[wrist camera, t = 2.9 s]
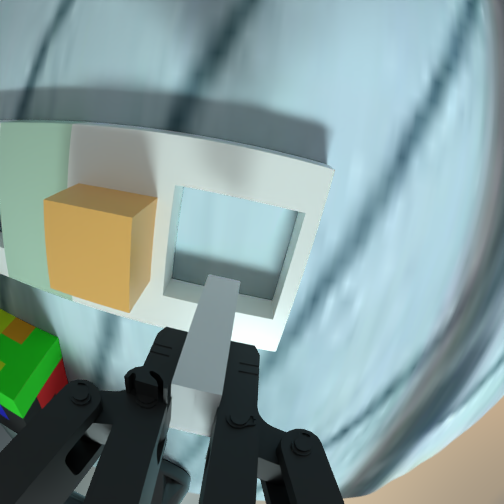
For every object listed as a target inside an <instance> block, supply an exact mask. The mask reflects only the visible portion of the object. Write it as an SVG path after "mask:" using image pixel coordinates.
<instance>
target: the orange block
mask: <svg viewBox="0 0 504 504" xmlns="http://www.w3.org/2000/svg"><path fill="white" fill-rule="evenodd" d="M157 199H158V198H157V197H152V196H147V195H141V194H136V193H131V192H125V191H120V190H114V189H109V188H103V187H97V186H92V185H86V184H80V183H78V184H76V185H74V186H71V187H69V188H67V189H65V190H62V191H60V192H58V193H56V194H54V195H52V196H50V197H48V198H45V199H43V203H44V230H45V245H46V256H47V265H48V274H49V281H50V288H52V289H54V290H57V291H60V292H63V293H66V294H69V295H72V296H75V297H78V298H81V299H84V300H87V301H90V302H93V303H97V304H100V305H103V306H106V307H110V308H113V309H117V310H120V311H123V312H127V313H130V312H131V310H132V308H133V307H134V305H135V304H136V302H137V300H138V299H139V297H140V296H141V294H142V293H143V291H144V289H145V288H146V286H147V285H148V283H149V282H150V277H151V262H152V249H153V237H154V227H155V217H156V208H157Z"/></svg>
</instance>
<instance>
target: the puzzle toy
mask: <svg viewBox="0 0 504 504" xmlns="http://www.w3.org/2000/svg"><path fill="white" fill-rule="evenodd" d="M67 384H68V381H67V376H66V372H65V368H64V364H63V359H62V354H61V349H60V344H59V339H58V337H56V336H54V335H52V334H49V333H47V332H45V331H43V330H41V329H39V328H37V327H35V326H33V325H31V324H29V323H27V322H25V321H23V320H21V319H19V318H17V317H15V316H13V315H11V314H9V313H7V312H6V311H4V310H2V309H0V423H2V424H3V425H5V426H6V427H8V428H9V429H11V430H13V431H14V432H16V433H17V434H18V433H19V432H20V431H21V430H22V429H23V428H24V427H25V426H26V425H27V424H28V423H29V422H30V421H31V420H32V419H33V418H34V417H35V416H36V415H37V414H38V413H39V412H40V410H41V409H42V408H43V407H44V406H45V405H46V404H47V403H48V402H49V401H50V400H51V399H52V398H53V397H54V396H55V395H56V394H57V393H58V392H59V391H60V390H61V389H62V388H63V387H64V386H65V385H67Z"/></svg>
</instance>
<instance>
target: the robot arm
mask: <svg viewBox="0 0 504 504" xmlns="http://www.w3.org/2000/svg"><path fill="white" fill-rule="evenodd" d="M239 287H240V281H238V280H233V279H229V278H224V277H220V276H215V275H211V274H208V277H207V280H206V282H205V285H204V288H203V291H202V294H201V297H200V299H199V302H198V305H197V308H196V311H195V314H194V317H193V320H192V323H191V325H190V328H189V331H188V332H186V331H182V330H178V329H174V328H170V327H165V328H164V329H163V330H161V331H160V332H159V333H158V334H157V336H156V338H155V341H154V343H153V345H152V347H151V349H150V353H149V354H148V356H147V359H146V361H145V363H144V365H143V366H141V367H135V368H133V369H131V370H130V371H128V372H127V374H126V375H125V376H124V378H125V386H126V390H123V391H99V389H98V387H96V386H95V385H94V384H93V383H91V382H89V381H87V380H75V381H71V382H70V383H68V384H67V385H65V386H64V387H63V388H62V389H61V390H60V391H59V392H58V393H57V394H56V395H55V396H54V397H53V398H52V399H51V400H50V401H49V402H48V403H47V404H46V405H45V406H44V407H43V408H42V409H41V410H40V412H39V413H38V414H37V415H36V416H35V417H34V418H33V419H32V420H31V421H30V422H29V423H28V424H27V425H26V426H25V427H24V428H23V429H22V430H21V431H20V432H19V433H18V434H17V435H16V436H15V437H14V438H13V439H12V441H11V442H10V443H9V444H8V445H7V446H6V447H5V448H4V449H3V450H2V451H1V452H0V504H180V503H181V502H182V500H183V498H184V497H185V495H186V493H187V492H188V490H189V486H190V480H191V479H190V476H189V475H188V474H187V473H186V472H185V471H184V470H182V469H181V468H179V467H178V466H176V465H174V464H172V463H170V462H168V461H166V460H163V459H162V457H163V453H164V449H165V445H166V441H167V432H168V428H173V429H177V430H181V431H185V432H189V433H194V434H198V435H203V436H208V437H210V443H209V447H208V451H207V455H206V458H205V459H206V463H205V469H204V475H203V481H202V486H201V492H200V498H199V504H255V503H256V487H257V478H259V479H260V480H261V484H262V488H263V492H264V496H265V500H266V504H344V501H343V498H342V496H341V493H340V491H339V488H338V485H337V483H336V480H335V478H334V475H333V472H332V470H331V467H330V464H329V462H328V459H327V457H326V454H325V451H324V449H323V446H322V443H321V442H320V440H319V438H318V437H317V436H316V435H315V434H313V433H312V432H310V431H307V430H305V429H294V430H291V431H288V432H284V431H282V430H279V429H277V428H274V427H272V426H270V425H269V424H267V423H266V422H265V421H264V420H263V419H262V418H261V416H260V415H259V412H258V408H257V401H258V381H259V360H260V355H259V353H258V351H257V349H256V347H255V345H250V344H245V343H240V342H235V341H231V336H232V330H233V324H234V318H235V312H236V305H237V299H238V293H239ZM169 424H170V425H169ZM100 455H101V456H100ZM99 457H100V459H99V461H98V464H97V466H96V469H95V472H94V475H93V477H92V480H91V483H90V486H89V488H88V491H87V494H86V497H85V496H83V495H81V494H79V493H77V492H76V491H74V489H75V488H76V487H77V486H78V484H79V483H80V481H81V480H82V479H83V478H84V476H85V475H86V474H87V472H88V471H89V470H90V468H91V467H92V466H93V465H94V463H95V462H96V461H97V459H98V458H99Z"/></svg>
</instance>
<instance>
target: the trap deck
mask: <svg viewBox="0 0 504 504" xmlns="http://www.w3.org/2000/svg"><path fill="white" fill-rule="evenodd" d="M334 172H335V170H334V169H333V168H332V167H330V166H329V165H327V164H325V163H321V162H317V161H314V160H310V159H306V158H302V157H299V156H295V155H291V154H287V153H283V152H278V151H274V150H270V149H266V148H261V147H257V146H252V145H248V144H243V143H238V142H233V141H228V140H223V139H217V138H212V137H206V136H201V135H195V134H189V133H182V132H176V131H169V130H162V129H154V128H146V127H138V126H129V125H119V124H108V123H96V122H81V121H61V120H0V214H1V225H2V232H0V274H3V275H5V276H7V277H10V278H12V279H15V280H17V281H20V282H22V283H25V284H27V285H30V286H32V287H35V288H38V289H40V290H43V291H46V292H48V293H51V294H54V295H57V296H60V297H62V298H65V299H68V300H71V301H74V302H77V303H80V304H83V305H86V306H89V307H92V308H95V309H99V310H102V311H105V312H108V313H112V314H115V315H118V316H122V317H125V318H129V319H132V320H136V321H139V322H143V323H147V324H150V325H154V326H158V327H162V328H165V327H170V328H174V329H178V330H182V331H186V332H188V331H189V328H190V325H191V323H192V320H193V317H194V314H195V311H196V308H197V305H198V302H199V299H200V297H201V294H202V291H203V288H204V286H202V285H198V284H194V283H189V282H185V281H180V280H176V279H172V272H173V263H174V254H175V246H176V238H177V230H178V223H179V215H180V208H181V202H182V195H183V189H184V187H188V188H194V189H199V190H204V191H209V192H213V193H218V194H223V195H228V196H232V197H237V198H242V199H246V200H251V201H255V202H260V203H264V204H269V205H273V206H277V207H282V208H286V209H290V210H294V211H298V215H297V219H296V222H295V226H294V229H293V233H292V236H291V240H290V243H289V246H288V250H287V253H286V257H285V260H284V264H283V267H282V270H281V274H280V277H279V280H278V284H277V287H276V290H275V293H274V297H273V300H268V299H263V298H258V297H253V296H249V295H244V294H239V293H238V299H237V305H236V312H235V318H234V324H233V330H232V336H231V341H235V342H240V343H245V344H250V345H255V347H256V348H257V349H263V350H269V351H275V352H276V349H277V347H278V344H279V341H280V339H281V336H282V333H283V330H284V328H285V325H286V322H287V319H288V316H289V314H290V311H291V308H292V305H293V302H294V299H295V296H296V294H297V291H298V288H299V285H300V282H301V279H302V276H303V273H304V270H305V267H306V264H307V261H308V258H309V255H310V251H311V248H312V245H313V242H314V239H315V236H316V233H317V229H318V226H319V223H320V220H321V216H322V213H323V210H324V206H325V203H326V200H327V196H328V193H329V189H330V186H331V183H332V179H333V175H334ZM78 183H80V184H86V185H92V186H97V187H103V188H109V189H114V190H120V191H125V192H131V193H136V194H141V195H147V196H152V197H157V198H158V199H157V208H156V217H155V227H154V237H153V249H152V262H151V277H150V282H149V283H148V285H147V286H146V288H145V289H144V291H143V293H142V294H141V296H140V297H139V299H138V300H137V302H136V304H135V305H134V307H133V308H132V310H131V312H130V313H127V312H123V311H120V310H117V309H113V308H110V307H106V306H103V305H100V304H97V303H93V302H90V301H87V300H84V299H81V298H78V297H75V296H72V295H69V294H66V293H63V292H60V291H57V290H54V289H52V288H50V281H49V274H48V265H47V256H46V245H45V230H44V203H43V199H45V198H48V197H50V196H52V195H54V194H56V193H58V192H60V191H62V190H65V189H67V188H69V187H71V186H74V185H76V184H78Z"/></svg>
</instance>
